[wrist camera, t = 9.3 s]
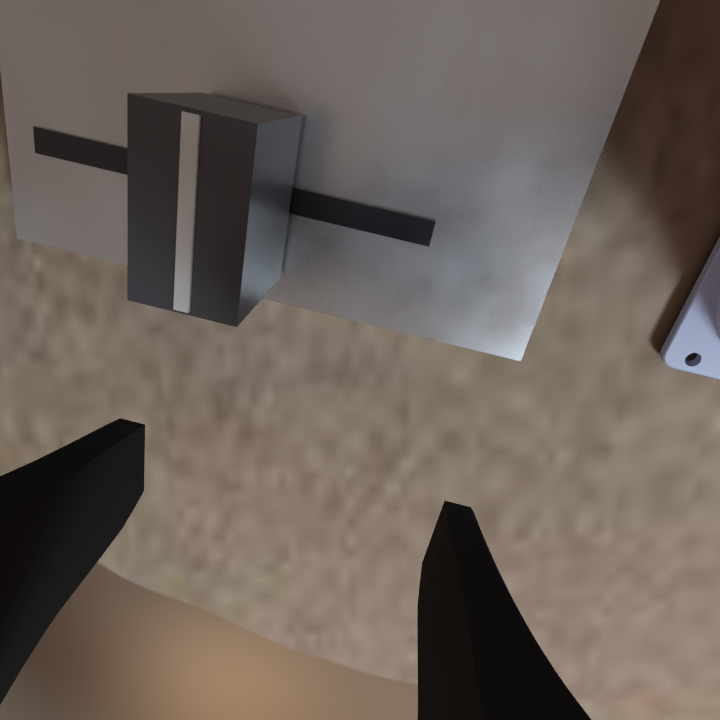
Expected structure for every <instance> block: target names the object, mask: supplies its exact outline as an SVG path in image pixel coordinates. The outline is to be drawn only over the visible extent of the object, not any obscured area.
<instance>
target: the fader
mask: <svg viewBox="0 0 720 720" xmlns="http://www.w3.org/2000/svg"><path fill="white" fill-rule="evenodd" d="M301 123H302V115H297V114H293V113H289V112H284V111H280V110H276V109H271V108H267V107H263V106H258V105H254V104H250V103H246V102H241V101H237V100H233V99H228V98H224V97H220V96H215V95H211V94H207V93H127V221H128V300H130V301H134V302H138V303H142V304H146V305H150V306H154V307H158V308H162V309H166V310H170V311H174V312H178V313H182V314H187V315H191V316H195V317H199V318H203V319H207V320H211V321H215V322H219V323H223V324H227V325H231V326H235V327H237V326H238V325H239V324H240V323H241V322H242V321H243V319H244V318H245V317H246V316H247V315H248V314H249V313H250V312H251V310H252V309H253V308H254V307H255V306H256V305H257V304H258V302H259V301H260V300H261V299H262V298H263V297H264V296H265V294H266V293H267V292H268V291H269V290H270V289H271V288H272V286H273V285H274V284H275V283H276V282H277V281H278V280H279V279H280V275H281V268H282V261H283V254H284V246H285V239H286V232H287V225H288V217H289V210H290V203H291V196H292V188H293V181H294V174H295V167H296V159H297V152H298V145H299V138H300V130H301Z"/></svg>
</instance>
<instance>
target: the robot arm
mask: <svg viewBox="0 0 720 720" xmlns="http://www.w3.org/2000/svg"><path fill="white" fill-rule="evenodd" d="M691 353H697V355H696V357H695V358H694V359H693V360H691V361H685V358H686V357H687V356H688V355H689V354H691ZM660 356H661V359H662V360H663V361H664V363H665V364H666V365H667V366H669V367H671V368H674V369H678V370H682V371H687V372H691V373H695V374H699V375H703V376H707V377H711V378H716V379H720V237H719V239H718V241H717V243H716V245H715V246H714V248H713V250H712V252H711V254H710V256H709V258H708V260H707V262H706V264H705V266H704V268H703V270H702V272H701V273H700V275H699V277H698V279H697V281H696V283H695V285H694V287H693V289H692V291H691V293H690V295H689V297H688V298H687V300H686V302H685V304H684V306H683V308H682V310H681V312H680V314H679V316H678V318H677V320H676V322H675V324H674V325H673V327H672V329H671V331H670V333H669V335H668V337H667V339H666V341H665V343H664V345H663V347H662V349H661V352H660ZM144 450H145V425H144V424H140V423H136V422H132V421H128V420H124V419H118V420H116V421H114V422H112V423H110V424H108V425H106V426H104V427H102V428H100V429H98V430H96V431H94V432H92V433H90V434H88V435H86V436H84V437H82V438H80V439H78V440H76V441H74V442H72V443H70V444H68V445H66V446H64V447H62V448H60V449H58V450H56V451H54V452H52V453H50V454H48V455H46V456H44V457H42V458H40V459H38V460H36V461H34V462H31V463H29V464H27V465H25V466H23V467H20V468H18V469H16V470H14V471H11V472H9V473H7V474H5V475H2V476H0V704H1V702H2V701H3V699H4V697H5V696H6V694H7V692H8V691H9V689H10V687H11V686H12V684H13V682H14V681H15V679H16V677H17V676H18V674H19V672H20V671H21V669H22V667H23V666H24V664H25V663H26V661H27V659H28V658H29V656H30V655H31V653H32V652H33V650H34V648H35V647H36V645H37V643H38V642H39V640H40V639H41V637H42V635H43V634H44V632H45V631H46V629H47V628H48V626H49V625H50V624H51V622H52V621H53V619H54V618H55V616H56V615H57V613H58V612H59V611H60V609H61V608H62V607H63V606H64V604H65V603H66V601H67V600H68V599H69V598H70V596H71V595H72V594H73V592H74V591H75V590H76V589H77V587H78V586H79V585H80V583H81V582H82V581H83V579H84V578H85V577H86V575H87V574H88V573H89V572H90V570H91V569H92V567H93V566H94V565H95V564H96V562H97V561H98V560H99V559H100V557H101V556H102V555H103V553H104V552H105V551H106V549H107V548H108V547H109V545H110V544H111V543H112V541H113V540H114V539H115V537H116V536H117V535H118V533H119V532H120V531H121V529H122V528H123V526H124V524H125V523H126V521H127V519H128V518H129V516H130V514H131V513H132V511H133V509H134V507H135V506H136V504H137V502H138V500H139V499H140V497H141V495H142V493H143V491H144ZM418 720H591V719H590V718H589V716H588V715H587V714H586V712H585V711H584V710H583V708H582V707H581V706H580V704H579V703H578V702H577V700H576V699H575V698H574V697H573V695H572V694H571V693H570V691H569V690H568V689H567V687H566V686H565V684H564V683H563V681H562V680H561V679H560V677H559V676H558V674H557V673H556V671H555V670H554V668H553V667H552V665H551V664H550V662H549V661H548V659H547V657H546V656H545V654H544V653H543V651H542V650H541V648H540V646H539V645H538V643H537V641H536V640H535V638H534V636H533V635H532V633H531V631H530V630H529V628H528V626H527V624H526V623H525V621H524V619H523V617H522V615H521V614H520V612H519V610H518V608H517V606H516V604H515V603H514V601H513V599H512V597H511V595H510V593H509V591H508V589H507V587H506V585H505V583H504V581H503V579H502V577H501V575H500V573H499V570H498V568H497V566H496V564H495V562H494V560H493V558H492V555H491V553H490V551H489V548H488V546H487V544H486V542H485V539H484V537H483V534H482V532H481V529H480V527H479V524H478V522H477V519H476V517H475V514H474V512H473V510H472V509H471V507H467V506H463V505H459V504H455V503H452V502H448V501H444V504H443V507H442V510H441V513H440V515H439V518H438V521H437V524H436V526H435V529H434V532H433V535H432V537H431V540H430V543H429V546H428V548H427V551H426V554H425V557H424V560H423V562H422V570H421V579H420V588H419V598H418Z"/></svg>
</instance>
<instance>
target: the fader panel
mask: <svg viewBox="0 0 720 720" xmlns="http://www.w3.org/2000/svg"><path fill="white" fill-rule="evenodd" d="M659 2H660V0H0V72H1V82H2V92H3V102H4V112H5V123H6V133H7V143H8V153H9V163H10V173H11V184H12V194H13V204H14V214H15V224H16V234H17V239H21V240H25V241H29V242H34V243H38V244H42V245H46V246H50V247H54V248H58V249H62V250H66V251H70V252H75V253H79V254H83V255H87V256H91V257H95V258H99V259H103V260H107V261H111V262H116V263H120V264H124V265H128V221H127V93H207V94H211V95H215V96H220V97H224V98H228V99H233V100H237V101H241V102H246V103H250V104H254V105H258V106H263V107H267V108H271V109H276V110H280V111H284V112H289V113H293V114H297V115H302V123H301V130H300V138H299V145H298V152H297V159H296V167H295V174H294V181H293V188H292V196H291V203H290V210H289V217H288V225H287V232H286V239H285V246H284V254H283V261H282V268H281V275H280V279H279V280H278V281H277V282H276V283H275V284H274V285H273V286H272V288H271V289H270V290H269V291H268V292H267V293H266V294H265V296H264V297H263V299H267V300H271V301H276V302H280V303H284V304H288V305H292V306H296V307H300V308H304V309H308V310H313V311H317V312H321V313H325V314H329V315H333V316H337V317H341V318H345V319H349V320H354V321H358V322H362V323H366V324H370V325H374V326H378V327H382V328H386V329H390V330H395V331H399V332H403V333H407V334H411V335H415V336H419V337H423V338H427V339H432V340H436V341H440V342H444V343H448V344H452V345H456V346H460V347H464V348H468V349H473V350H477V351H481V352H485V353H489V354H493V355H497V356H501V357H505V358H509V359H514V360H518V361H521V359H522V356H523V354H524V351H525V349H526V346H527V343H528V341H529V338H530V336H531V333H532V330H533V328H534V325H535V323H536V320H537V318H538V315H539V312H540V310H541V307H542V305H543V302H544V299H545V297H546V294H547V292H548V289H549V287H550V284H551V281H552V279H553V276H554V274H555V271H556V268H557V266H558V263H559V261H560V258H561V256H562V253H563V250H564V248H565V245H566V243H567V240H568V237H569V235H570V232H571V230H572V227H573V224H574V222H575V219H576V217H577V214H578V212H579V209H580V206H581V204H582V201H583V199H584V196H585V193H586V191H587V188H588V186H589V183H590V181H591V178H592V175H593V173H594V170H595V168H596V165H597V162H598V160H599V157H600V155H601V152H602V149H603V147H604V144H605V142H606V139H607V137H608V134H609V131H610V129H611V126H612V124H613V121H614V118H615V116H616V113H617V111H618V108H619V106H620V103H621V100H622V98H623V95H624V93H625V90H626V87H627V85H628V82H629V80H630V77H631V74H632V72H633V69H634V67H635V64H636V62H637V59H638V56H639V54H640V51H641V49H642V46H643V43H644V41H645V38H646V36H647V33H648V31H649V28H650V25H651V23H652V20H653V18H654V15H655V12H656V10H657V7H658V5H659Z"/></svg>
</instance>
